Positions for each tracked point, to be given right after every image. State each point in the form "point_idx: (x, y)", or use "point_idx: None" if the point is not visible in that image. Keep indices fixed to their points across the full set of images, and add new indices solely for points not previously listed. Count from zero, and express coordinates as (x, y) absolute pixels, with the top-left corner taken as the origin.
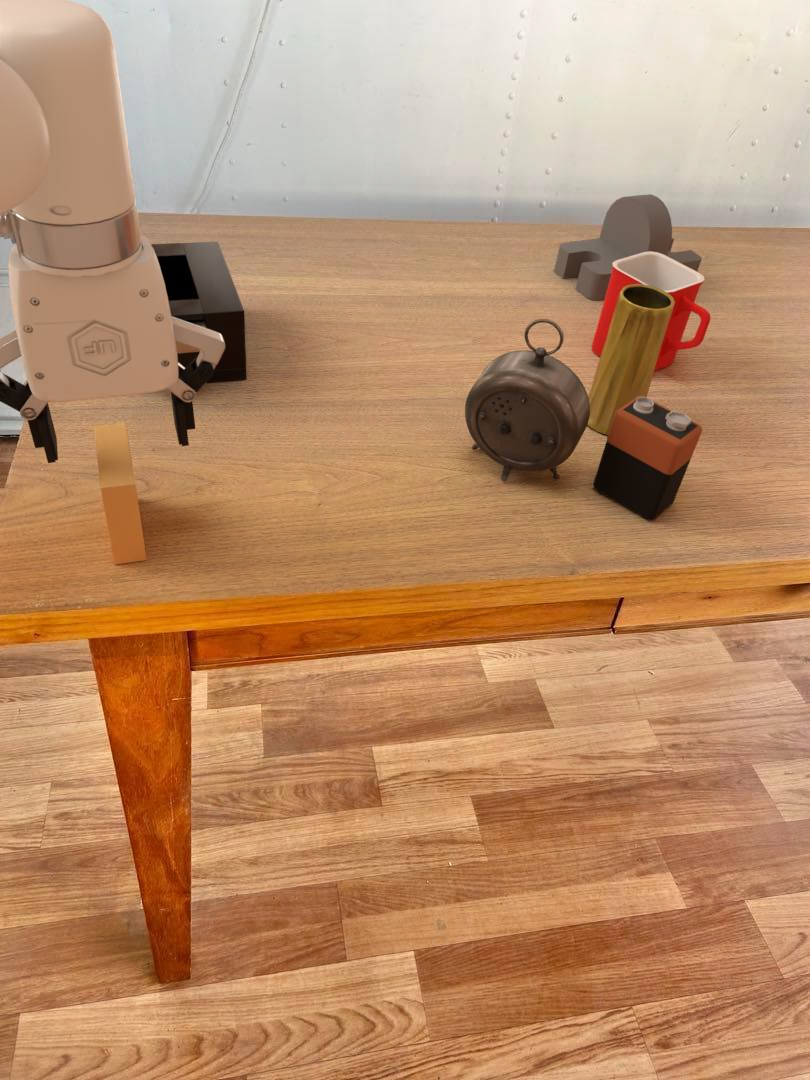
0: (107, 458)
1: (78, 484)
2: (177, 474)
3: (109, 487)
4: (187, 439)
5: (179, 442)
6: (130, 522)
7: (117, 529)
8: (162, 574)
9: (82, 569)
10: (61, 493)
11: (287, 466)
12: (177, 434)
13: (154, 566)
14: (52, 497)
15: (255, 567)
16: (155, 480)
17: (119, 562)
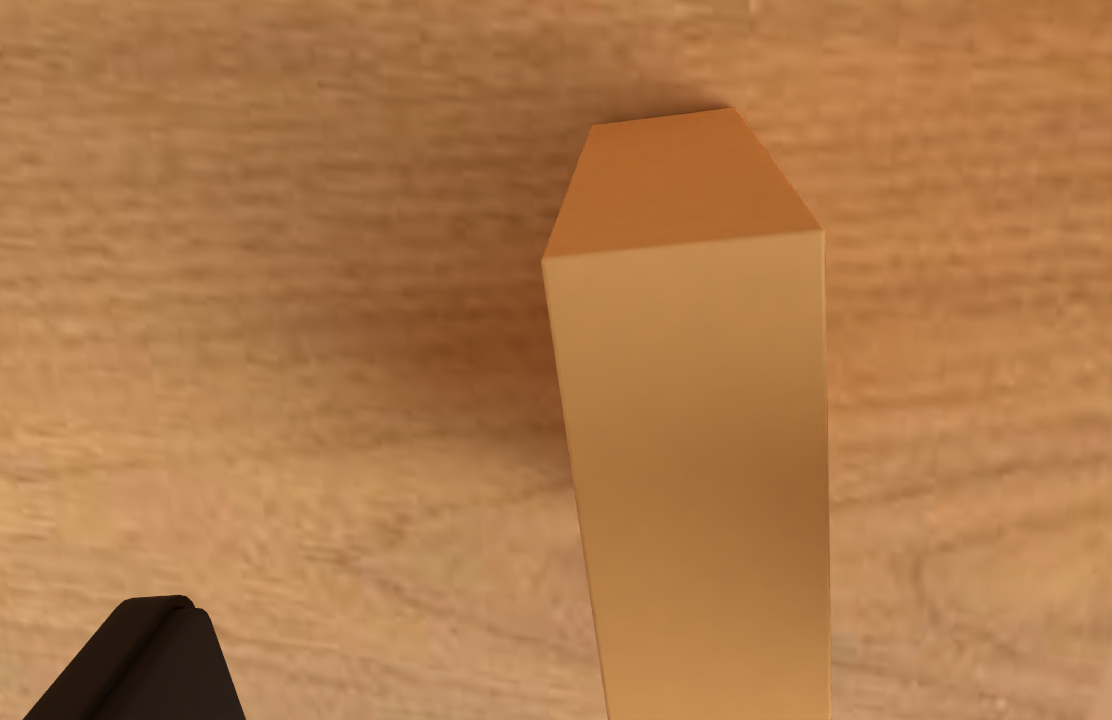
0: (755, 567)
1: (867, 610)
2: (481, 618)
3: (750, 233)
4: (99, 634)
5: (180, 620)
6: (632, 166)
7: (711, 150)
8: (517, 20)
9: (885, 92)
10: (939, 570)
11: (73, 611)
12: (194, 698)
13: (556, 81)
14: (977, 553)
15: (104, 29)
16: (565, 597)
17: (713, 111)
